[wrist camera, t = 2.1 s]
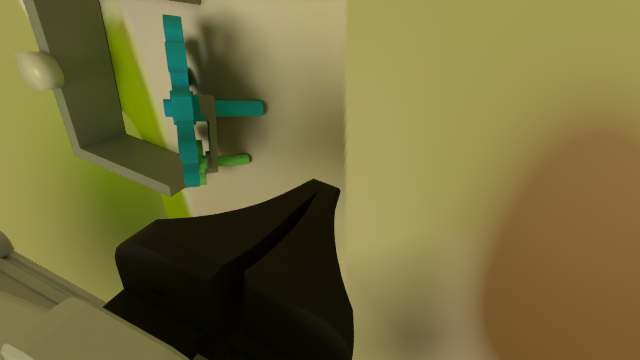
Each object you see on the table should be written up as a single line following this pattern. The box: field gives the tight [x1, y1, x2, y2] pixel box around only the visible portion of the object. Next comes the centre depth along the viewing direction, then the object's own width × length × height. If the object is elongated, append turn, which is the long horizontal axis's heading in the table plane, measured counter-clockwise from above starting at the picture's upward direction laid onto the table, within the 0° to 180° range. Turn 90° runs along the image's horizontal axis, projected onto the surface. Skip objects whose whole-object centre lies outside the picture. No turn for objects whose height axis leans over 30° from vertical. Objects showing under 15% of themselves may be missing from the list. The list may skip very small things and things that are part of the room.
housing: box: [15, 0, 206, 197], centre depth 19 cm, size 14×11×5 cm
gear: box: [163, 15, 263, 188], centre depth 18 cm, size 11×6×10 cm
